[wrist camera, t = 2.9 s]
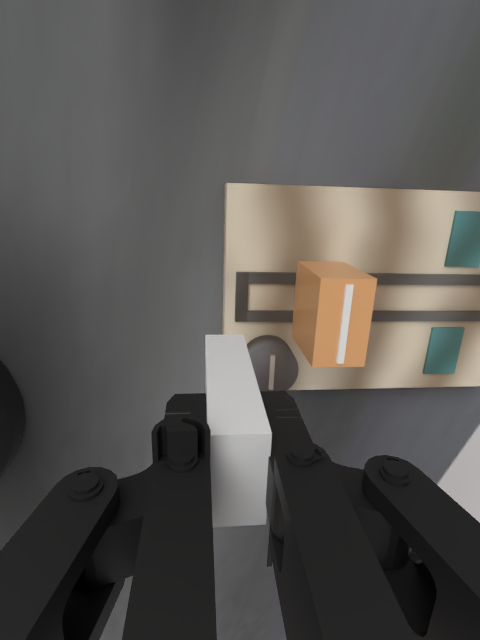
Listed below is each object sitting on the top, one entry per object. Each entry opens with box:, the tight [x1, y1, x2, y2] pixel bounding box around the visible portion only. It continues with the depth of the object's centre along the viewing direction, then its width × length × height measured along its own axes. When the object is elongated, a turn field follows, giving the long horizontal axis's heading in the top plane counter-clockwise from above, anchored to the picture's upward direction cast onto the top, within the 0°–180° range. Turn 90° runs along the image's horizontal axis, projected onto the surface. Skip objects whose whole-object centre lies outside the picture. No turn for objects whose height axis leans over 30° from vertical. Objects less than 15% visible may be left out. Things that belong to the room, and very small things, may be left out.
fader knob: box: [292, 261, 377, 368], centre depth 23 cm, size 3×5×5 cm, turn 178°
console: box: [222, 183, 480, 391], centre depth 26 cm, size 20×14×4 cm
